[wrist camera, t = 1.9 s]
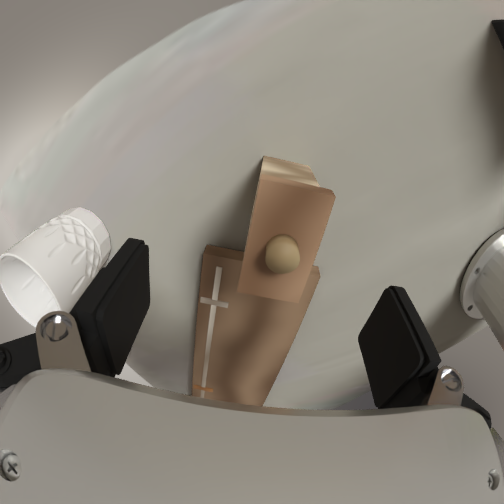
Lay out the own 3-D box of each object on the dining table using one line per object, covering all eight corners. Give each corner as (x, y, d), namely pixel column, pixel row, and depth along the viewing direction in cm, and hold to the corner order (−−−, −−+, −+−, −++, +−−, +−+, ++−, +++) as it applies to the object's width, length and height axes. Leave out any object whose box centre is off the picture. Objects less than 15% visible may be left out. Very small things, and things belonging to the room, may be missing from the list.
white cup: (120, 274, 27) (74, 344, 19) (64, 262, 27) (15, 319, 18) (112, 204, 23) (45, 263, 14) (52, 198, 23) (-14, 246, 14)
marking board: (318, 266, 25) (320, 277, 23) (256, 410, 39) (255, 419, 38) (207, 244, 24) (203, 254, 23) (193, 399, 39) (191, 408, 37)
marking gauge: (311, 157, 20) (340, 204, 11) (291, 231, 23) (299, 315, 15) (265, 147, 20) (259, 185, 11) (249, 222, 23) (234, 303, 15)
